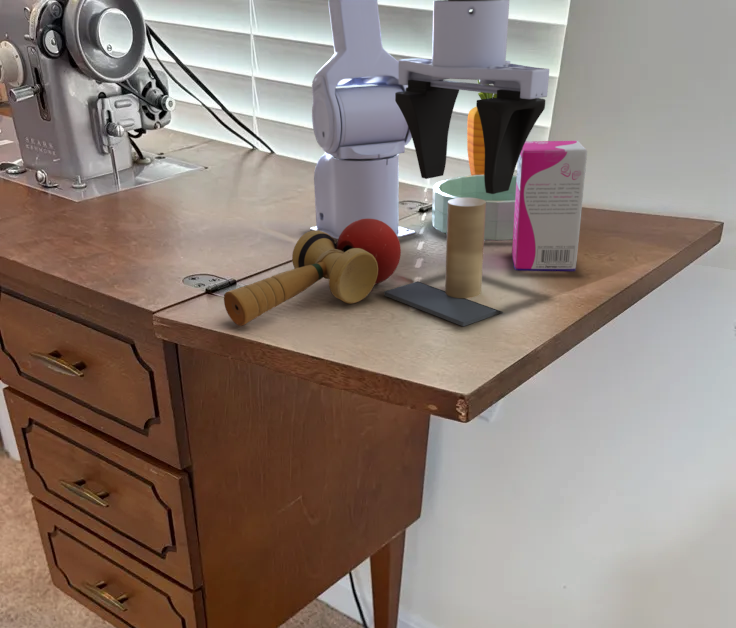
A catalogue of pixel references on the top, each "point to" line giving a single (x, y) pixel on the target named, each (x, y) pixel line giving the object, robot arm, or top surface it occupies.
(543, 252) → the supplement box
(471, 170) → the carrot
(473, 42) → the robot arm
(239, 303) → the kendama
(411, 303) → the felt mat
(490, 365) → the top surface
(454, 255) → the birch peg
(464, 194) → the bowl
